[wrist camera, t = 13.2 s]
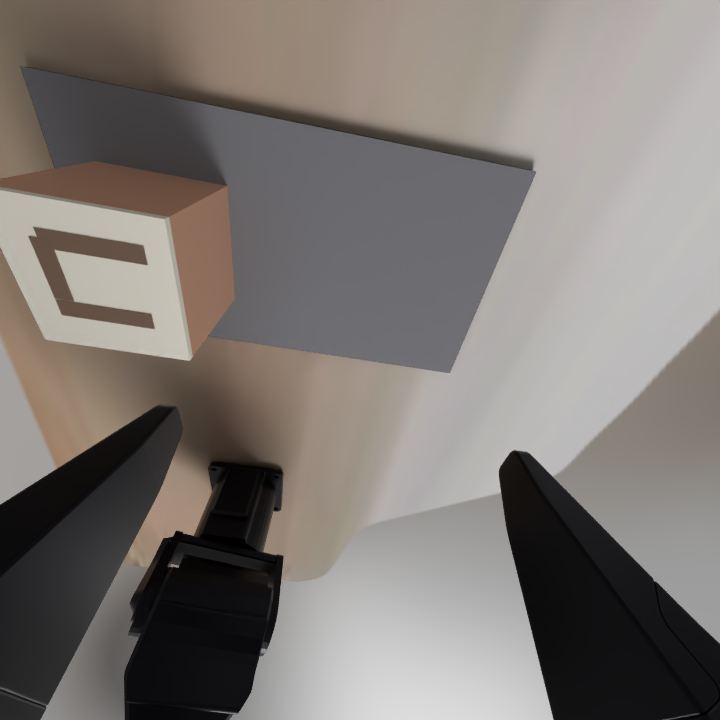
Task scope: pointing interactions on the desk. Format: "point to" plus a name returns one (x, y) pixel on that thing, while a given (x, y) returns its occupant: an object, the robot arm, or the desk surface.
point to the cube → (119, 256)
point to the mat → (312, 218)
